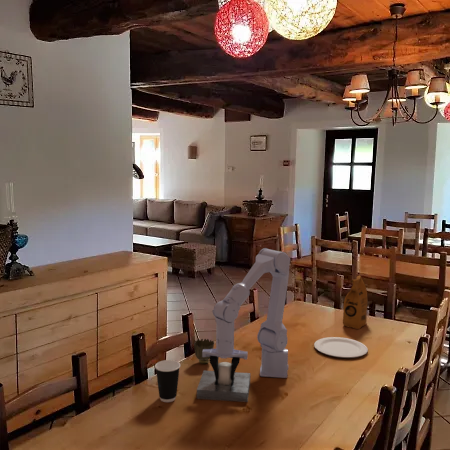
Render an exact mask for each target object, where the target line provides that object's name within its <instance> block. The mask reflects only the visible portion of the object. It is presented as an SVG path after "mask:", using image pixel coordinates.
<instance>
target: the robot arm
mask: <svg viewBox="0 0 450 450" xmlns="http://www.w3.org/2000/svg"><path fill="white" fill-rule="evenodd" d="M290 265H291V258H290V256H289V255H288V254H287V253H286V252H284V251H278V250H274V249H269V248H267V247H264V248H262V249H260V250H259V252H258V254H257V255H256V256H255V262H254V264H253V265H252V266H251V268H250V269H249V271H248V272H247V274H246V275H245V276H244V277H243V280H242V281H241V282H238V283H235V284H233V286H232V287H231V289H230V290H229V292H228V293H227V294H226V296H225V297H224V298H223V299H222V300H220V301H217V302H216V303H215V304H214V307H213V309H212V311H211V312H212V314H213V317H214V319H215V323H216V325H215V326H216V328H215V329H216V331H215V333H216V336H215V341H216V342H215V345H216V346H215V348H213V349H203V351H202V357H206V356H207V357H210V359H209V363H210V366H211V367H212V371H214V373H215V378H216V379H218V364H219V358H220V359H229V358H230V359H231V361H230V363H231V366H232V373H231V380H233V379H234V373H235V372H236V370H237V368H238V366H239V364H240V360H241V359H243V360H246V361H247V360H248V355H249V354H248V352H249V351H245V350H239V349H235V348H234V347H235V321H236V320H237V318H238V316H239V313H240V312H239V311H240V310H241V307H242V305H243V304H244V302H246V300H247V299H248V298H249V296H250V294H251V293H250V289H251V288H253V286H254V285H255V284H256V283H257V282H258V280H260V278H261V277H262V276H263V275H264V274H266V273H270V274H271V276H272V281H271V286H270V287H271V289H270V295H269V300H268V309H267V316H266V320H264V321H263V322H262V323H260V328H259V330H258V332H257V337H256V338H257V341H258V343H259V344H260V348H261V362H260V363H261V365H260V369H259V376H260V377H264V378H265V377H266V378H282V379H286V378H287V379H288V370H289V363H288V362H289V358H288V357H289V356H288V355H289V349H287V348H286V347H287V345H288V334H287V333H288V329H287V328H286V326H285V324H284V323H283V319H284V312H285V311H284V310H285V306H286V305H285V304H286V298H287V290H288V283H289V279H290V278H289V277H290Z"/></svg>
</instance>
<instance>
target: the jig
mask: <svg viewBox="0 0 450 450" xmlns="http://www.w3.org/2000/svg"><path fill="white" fill-rule="evenodd" d="M250 388H251V373H250V372H236V371H235V373H234V379H233V380H232V383H231V386H226V385H218V379H216V378H215V373H214V370H205V369H204V370H203V371H202V374H201V377H200V380H199V382H198V385H197V387H196V399H197V400H211V401H227V402H228V401H229V402H239V403H240V402H241V403H243V402H244V403H248V402H249V395H250Z"/></svg>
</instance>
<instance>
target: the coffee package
mask: <svg viewBox="0 0 450 450" xmlns="http://www.w3.org/2000/svg"><path fill="white" fill-rule="evenodd" d="M349 283H352V286H351V287H350V291H348V292H347V294H346V296H345V297H344V299H343V300H344V301H343V307H342V308H343V313H342V325H343V326H344V327H347V328H352V329H356V330H360V329H361V328H362V327H365V326H366V324H367V316H368V314H367V313H368V289H367V287H366V284H365V282H364V280H363V278H362V276H361V275H357V276H356V279H354V278H353V279H351V280H350V281H349Z"/></svg>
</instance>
